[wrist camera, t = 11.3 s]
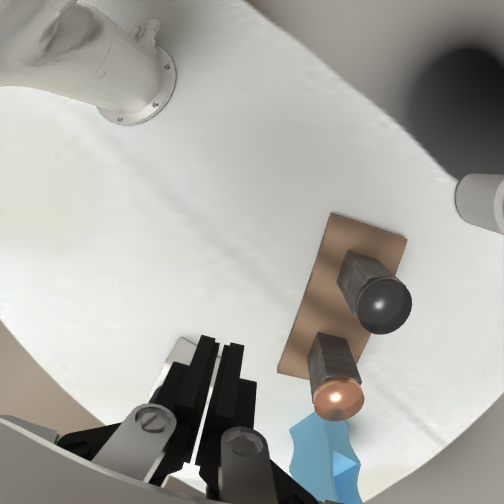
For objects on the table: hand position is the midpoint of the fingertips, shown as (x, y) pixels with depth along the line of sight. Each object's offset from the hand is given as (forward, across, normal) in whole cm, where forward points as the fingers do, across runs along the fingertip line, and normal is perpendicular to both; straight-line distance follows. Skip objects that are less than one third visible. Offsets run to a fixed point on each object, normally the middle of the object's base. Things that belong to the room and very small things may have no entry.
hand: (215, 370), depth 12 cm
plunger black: (+28, -14, +2) cm, 32 cm away
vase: (+30, -20, +31) cm, 47 cm away
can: (+30, -30, -12) cm, 44 cm away
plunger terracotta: (+28, -14, +14) cm, 34 cm away
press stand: (+30, -14, +8) cm, 34 cm away
